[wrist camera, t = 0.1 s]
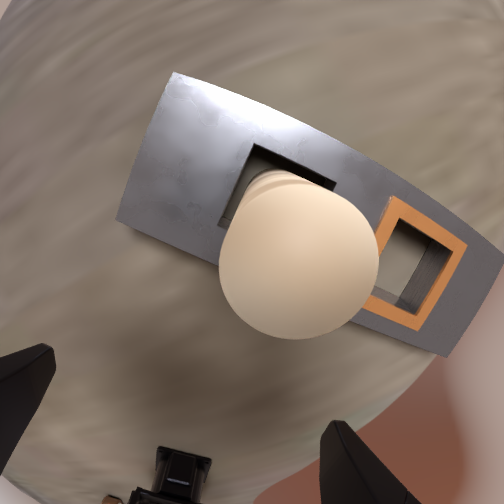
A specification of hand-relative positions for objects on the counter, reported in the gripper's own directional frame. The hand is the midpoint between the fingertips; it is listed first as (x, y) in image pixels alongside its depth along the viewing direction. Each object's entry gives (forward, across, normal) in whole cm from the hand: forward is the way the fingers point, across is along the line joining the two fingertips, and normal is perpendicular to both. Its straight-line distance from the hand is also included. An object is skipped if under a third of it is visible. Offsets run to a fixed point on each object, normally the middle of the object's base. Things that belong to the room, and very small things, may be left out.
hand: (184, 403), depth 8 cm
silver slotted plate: (+15, -7, -4) cm, 17 cm away
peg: (+15, -2, -5) cm, 16 cm away
